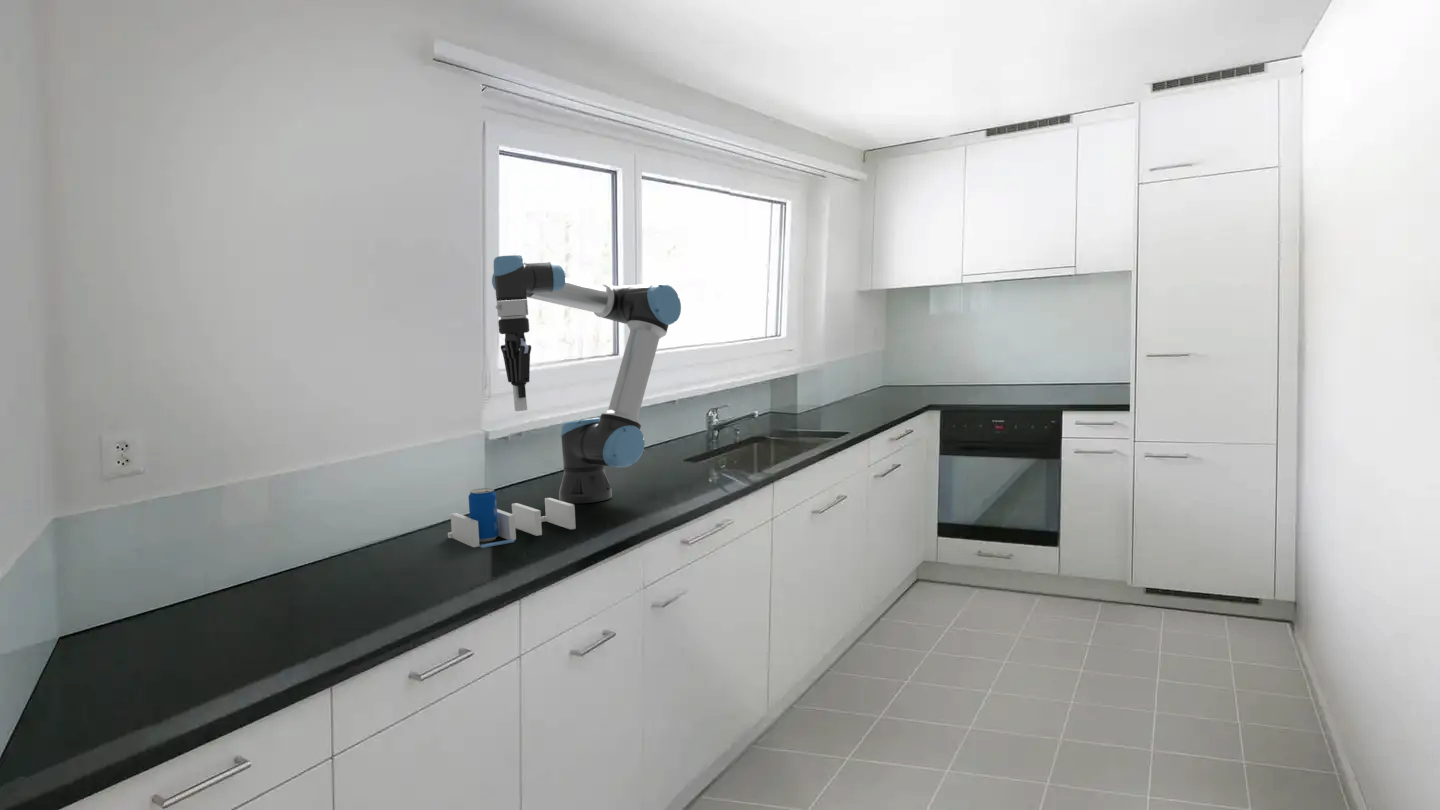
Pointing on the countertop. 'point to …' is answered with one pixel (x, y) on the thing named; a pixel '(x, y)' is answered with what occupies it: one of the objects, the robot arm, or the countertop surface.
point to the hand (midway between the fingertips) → (521, 410)
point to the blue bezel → (496, 543)
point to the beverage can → (484, 512)
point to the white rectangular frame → (515, 521)
